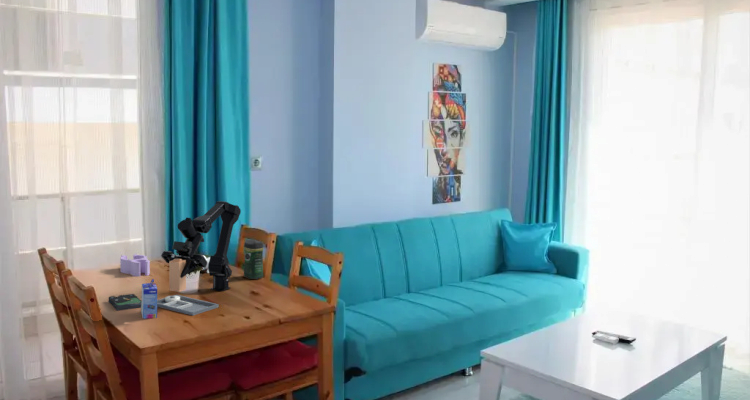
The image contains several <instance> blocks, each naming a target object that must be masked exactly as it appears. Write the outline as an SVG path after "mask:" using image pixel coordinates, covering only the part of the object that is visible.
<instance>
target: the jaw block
mask: <svg viewBox="0 0 750 400" xmlns="http://www.w3.org/2000/svg"><path fill="white" fill-rule="evenodd" d="M185 264H186V260H182V259H180V258H177V259H173V260H172V261H169V263H168V269H169V270H168V272H169V275H168V277H169V278H168V279H169V280H168V281H169V282H168V283H169V285H168V286H169V292H170V291H171V292H178V293H180V292H182V291H185V290H186V289H187V274H186V275H185V276H184V277H183V278H181V277H180V275H181V273H182V271H183V269H184V267H185Z"/></svg>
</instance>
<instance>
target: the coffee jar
mask: <svg viewBox="0 0 750 400" xmlns="http://www.w3.org/2000/svg"><path fill="white" fill-rule="evenodd" d="M243 250H244V265H243V266H244V267H243V276H244V277H245V278H247V279H251V280H253V279H254V280H259V279H258V278H260V279H261V278H264V266H263V265H264V263H263V262H264V261H263V260H264V257H263V255H264V242H263V241H259V240H257V239H246V240H245V241H244V243H243Z"/></svg>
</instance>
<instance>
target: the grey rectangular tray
mask: <svg viewBox="0 0 750 400" xmlns="http://www.w3.org/2000/svg"><path fill="white" fill-rule="evenodd" d="M219 306H220V304H219V303H215V302H211V301H206V300H201V299H198V298H194V297H189V296H184V295H180V294H174V295H167V296H165V297H163V298H160V299H157V308H160V309H166V310H169V311H173V312H178V313H182V314H185V315H188V316H196V315H198V314H202V313H204V312H208V311H211V310H215V309H217V308H219Z"/></svg>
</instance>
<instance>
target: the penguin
mask: <svg viewBox="0 0 750 400" xmlns="http://www.w3.org/2000/svg"><path fill="white" fill-rule="evenodd" d="M202 255H203V254H202ZM203 256H204V258H205V259H206V260H207V265H206V267H205V268H204V267H202V268H203V269H202V268H201V270H202V271H205V270H206V273H207V274H209V270H208V264H209V261H210V257H211V256H209V257H206V256H205V255H203Z"/></svg>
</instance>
